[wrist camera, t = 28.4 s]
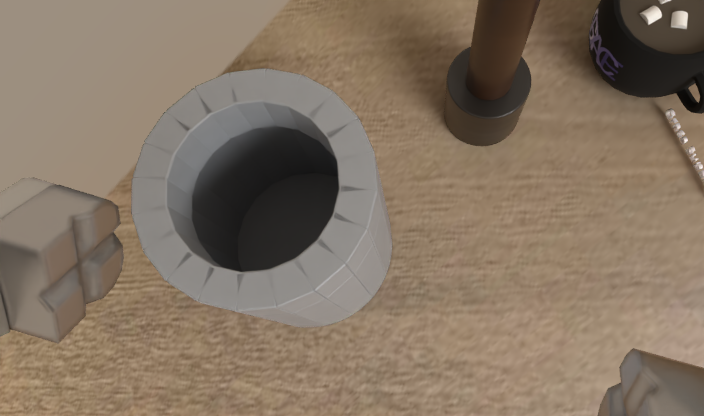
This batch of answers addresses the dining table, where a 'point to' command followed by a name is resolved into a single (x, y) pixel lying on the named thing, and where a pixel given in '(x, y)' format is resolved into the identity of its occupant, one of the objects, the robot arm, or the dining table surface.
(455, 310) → the dining table surface
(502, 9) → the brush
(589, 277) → the dining table surface
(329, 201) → the gray cylindrical container
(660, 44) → the mug
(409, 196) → the dining table surface
